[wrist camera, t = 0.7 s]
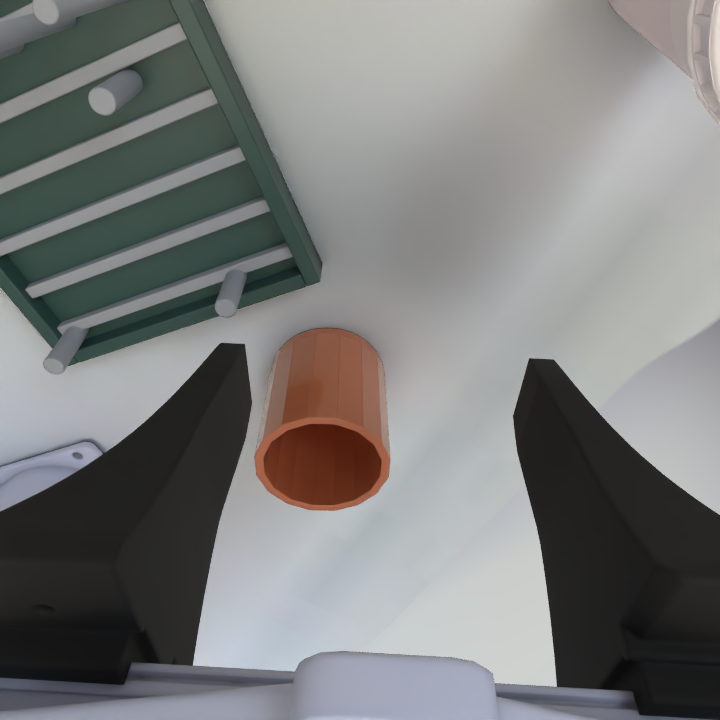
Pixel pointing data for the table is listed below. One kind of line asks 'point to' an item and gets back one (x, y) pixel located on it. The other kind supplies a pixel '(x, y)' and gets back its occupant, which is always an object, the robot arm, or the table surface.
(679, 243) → the table surface
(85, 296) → the rack
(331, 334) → the cup
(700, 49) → the smoothie
